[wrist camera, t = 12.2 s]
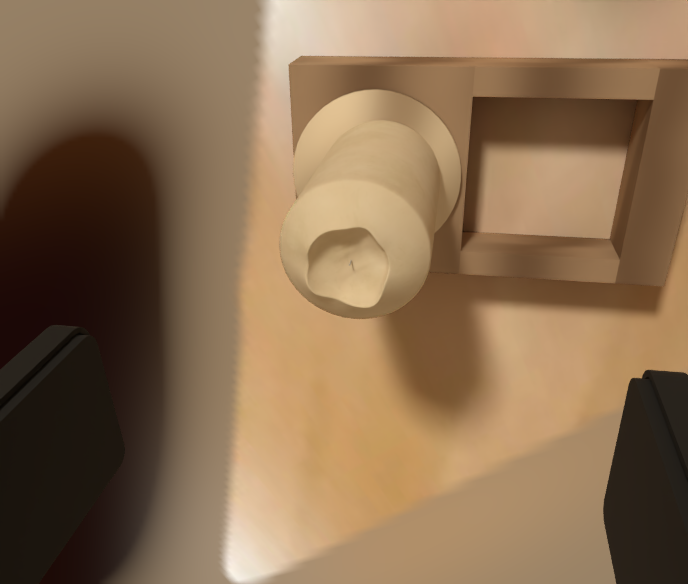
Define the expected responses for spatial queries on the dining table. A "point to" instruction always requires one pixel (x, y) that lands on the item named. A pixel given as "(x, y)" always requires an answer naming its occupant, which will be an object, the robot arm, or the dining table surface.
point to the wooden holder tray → (453, 145)
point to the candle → (365, 222)
